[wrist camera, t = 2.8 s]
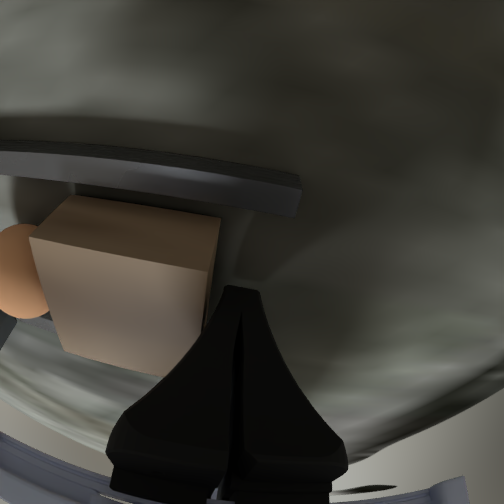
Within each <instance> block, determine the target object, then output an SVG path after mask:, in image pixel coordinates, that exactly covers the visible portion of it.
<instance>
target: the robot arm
mask: <svg viewBox="0 0 504 504" xmlns="http://www.w3.org/2000/svg"><path fill="white" fill-rule="evenodd" d="M105 452H106V455H107V456H108V458H109V459H110V460H111V462H112V463H113V465H114V468H113V472H112V476H111V477H107V476H104V475H101V474H98V473H95V472H92V471H89V470H86V469H83V468H81V467H78V466H75V465H72V464H70V463H67V462H65V461H62V460H60V459H57V458H55V457H53V456H50V455H48V454H46V453H43V452H41V451H39V450H36V449H34V448H32V447H30V446H28V445H26V444H24V443H22V442H20V441H18V440H16V439H14V438H12V437H10V436H8V435H6V434H4V433H3V432H1V431H0V498H1V499H3V500H4V501H6V502H8V503H9V504H123V503H120V502H117V501H114V500H111V499H109V498H106V497H103V496H101V495H100V494H102V495H105V496H108V497H112V498H115V499H118V500H122V501H126V502H129V503H133V504H470V502H469V497H468V491H467V486H466V481H465V477H464V476H460V477H457V478H453V479H449V480H446V481H443V482H440V483H438V484H435V485H433V486H432V487H430V488H428V489H424V490H420V491H415V492H410V493H405V494H400V495H395V496H388V497H382V498H375V499H368V500H360V501H349V502H337V503H329V493H330V492H332V481H334V480H335V479H337V478H339V477H340V476H342V475H343V474H344V473H346V472H347V470H348V459H347V454H346V450H345V446H344V442H343V440H342V439H341V438H340V437H339V436H338V435H337V434H336V433H335V432H334V431H333V430H332V429H331V428H330V427H329V426H328V424H327V423H326V422H325V421H324V420H323V419H322V417H321V416H320V415H319V414H318V413H317V411H316V410H315V409H314V407H313V406H312V405H311V403H310V402H309V401H308V399H307V398H306V396H305V395H304V394H303V392H302V391H301V389H300V388H299V386H298V385H297V383H296V381H295V380H294V378H293V376H292V375H291V373H290V371H289V369H288V368H287V366H286V364H285V362H284V360H283V358H282V356H281V354H280V351H279V349H278V347H277V345H276V343H275V340H274V338H273V335H272V332H271V330H270V327H269V325H268V322H267V319H266V315H265V312H264V309H263V305H262V301H261V296H260V292H259V291H258V290H254V289H248V288H243V287H237V286H231V285H227V286H225V287H224V291H223V294H222V297H221V299H220V301H219V304H218V306H217V308H216V310H215V311H214V313H213V315H212V317H211V318H210V320H209V322H208V324H207V325H206V327H205V328H204V330H203V331H202V333H201V334H200V336H199V337H198V338H197V340H196V341H195V343H194V344H193V345H192V347H191V348H190V349H189V351H188V352H187V353H186V354H185V355H184V357H183V358H182V359H181V360H180V361H179V362H178V363H177V365H176V366H175V367H174V368H173V369H172V370H171V371H170V372H169V373H168V374H167V375H166V376H165V377H164V378H163V379H162V380H161V381H160V382H159V383H158V384H157V385H156V386H155V387H154V388H152V389H151V390H150V391H149V392H148V393H147V394H146V395H145V396H143V397H142V398H141V399H140V400H138V401H137V402H136V403H134V404H133V405H132V406H130V407H129V408H128V409H127V410H125V411H124V412H123V414H122V415H121V417H120V418H119V420H118V421H117V423H116V425H115V426H114V428H113V430H112V432H111V435H110V437H109V440H108V444H107V448H106V451H105Z"/></svg>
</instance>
